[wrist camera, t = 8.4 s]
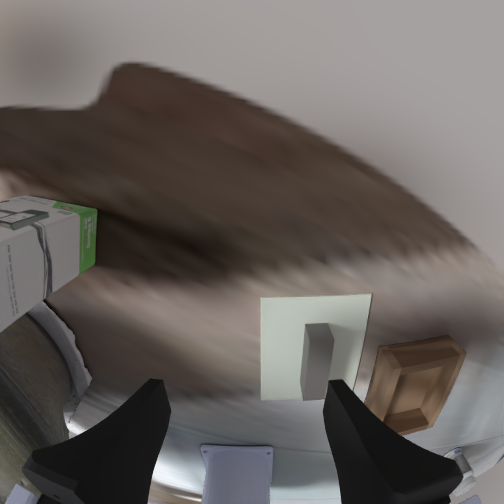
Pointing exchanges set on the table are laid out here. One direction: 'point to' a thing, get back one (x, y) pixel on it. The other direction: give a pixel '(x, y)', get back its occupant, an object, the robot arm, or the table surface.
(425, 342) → the box
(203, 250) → the table surface
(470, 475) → the pill bottle
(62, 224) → the ink box
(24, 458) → the decorative urn
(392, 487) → the robot arm
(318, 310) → the lid
